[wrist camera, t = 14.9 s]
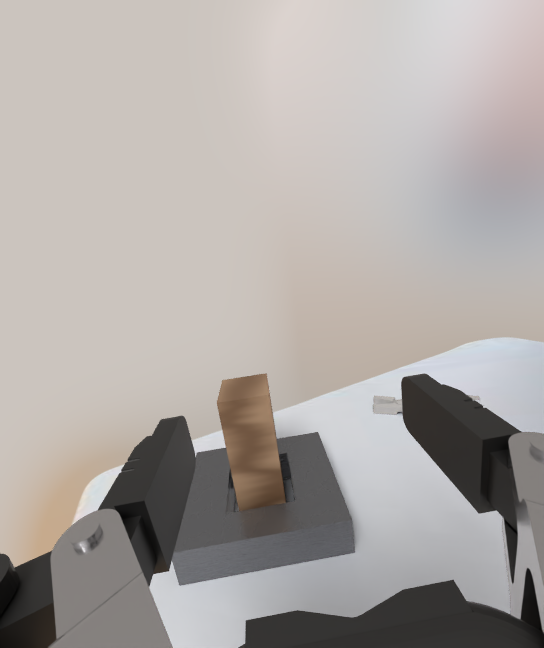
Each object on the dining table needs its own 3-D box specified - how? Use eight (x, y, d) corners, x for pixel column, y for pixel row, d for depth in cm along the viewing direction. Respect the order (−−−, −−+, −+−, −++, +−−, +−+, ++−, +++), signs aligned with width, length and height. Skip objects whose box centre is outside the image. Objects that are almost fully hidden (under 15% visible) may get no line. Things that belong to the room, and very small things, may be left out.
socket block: (320, 455, 36) (317, 432, 35) (354, 552, 24) (351, 519, 23) (202, 476, 35) (197, 452, 34) (179, 585, 23) (170, 553, 23)
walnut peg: (284, 486, 32) (266, 373, 28) (289, 523, 28) (268, 394, 24) (244, 493, 32) (222, 380, 28) (243, 531, 27) (216, 403, 24)
